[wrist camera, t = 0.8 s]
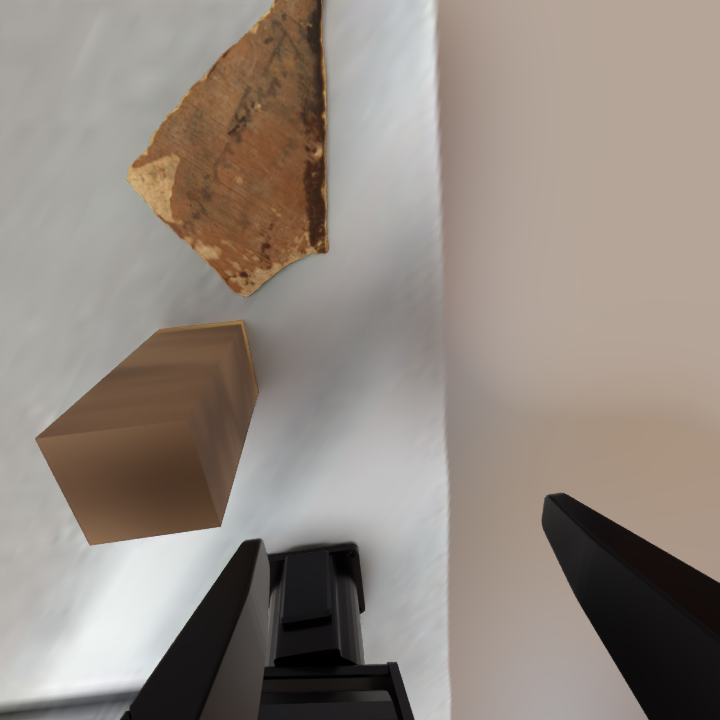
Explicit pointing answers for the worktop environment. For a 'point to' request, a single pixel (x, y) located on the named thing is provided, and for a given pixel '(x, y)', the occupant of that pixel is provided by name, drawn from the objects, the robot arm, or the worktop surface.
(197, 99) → the shard
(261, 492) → the worktop surface
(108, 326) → the worktop surface
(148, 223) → the worktop surface
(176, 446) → the walnut block
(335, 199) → the worktop surface
